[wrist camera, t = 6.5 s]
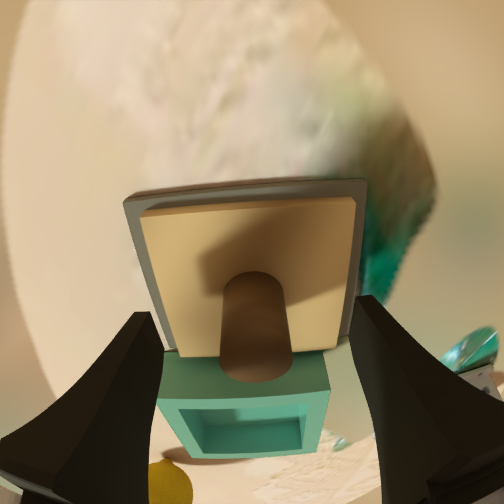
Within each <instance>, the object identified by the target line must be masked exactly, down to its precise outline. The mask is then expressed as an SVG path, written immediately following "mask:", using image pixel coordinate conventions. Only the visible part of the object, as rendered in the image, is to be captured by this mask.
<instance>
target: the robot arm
mask: <svg viewBox="0 0 504 504" xmlns="http://www.w3.org/2000/svg"><path fill="white" fill-rule="evenodd" d="M349 341H350V346H351V351H352V356H353V360H354V364H355V367H356V370H357V373H358V376H359V379H360V382H361V385H362V388H363V391H364V394H365V397H366V400H367V403H368V407H369V410H370V413H371V417H372V421H373V427H374V432H373V434H372V438H373V439H376V444H377V451H378V458H379V467H380V477H381V490H382V504H504V402H503V400H502V398H501V395H500V393H499V391H498V389H497V387H496V385H495V383H494V381H493V379H492V378H491V376H490V373H491V372H492V370H493V366H492V364H489V365H486V366H483V367H481V368H478V369H474V370H471V371H468V372H465V373H462V374H458V375H457V374H455V373H454V372H453V371H451V370H450V369H449V368H447V367H446V366H445V365H444V364H442V363H441V362H440V361H438V360H437V359H436V358H435V357H434V356H432V355H431V354H430V353H429V352H428V351H427V350H426V349H425V348H423V347H422V346H421V345H420V344H419V343H418V342H417V341H416V340H415V339H414V338H413V337H412V336H411V335H410V334H409V333H408V332H407V331H406V330H405V329H404V328H403V327H402V326H401V325H400V324H399V323H398V322H397V321H396V320H395V319H394V318H393V317H392V316H391V315H390V314H389V312H388V311H387V310H386V309H385V308H384V307H383V306H382V305H381V304H380V303H379V302H378V301H377V300H376V299H375V297H374V296H373V295H365V296H356V297H355V303H354V309H353V315H352V320H351V326H350V331H349ZM164 350H165V349H164V346H163V344H162V341H161V339H160V336H159V334H158V331H157V329H156V326H155V323H154V321H153V318H152V316H151V313H150V311H148V312H134V313H133V314H132V316H131V317H130V318H129V319H128V321H127V322H126V323H125V324H124V326H123V327H122V328H121V330H120V331H119V332H118V333H117V335H116V336H115V337H114V339H113V340H112V341H111V342H110V344H109V345H108V346H107V347H106V349H105V350H104V351H103V352H102V354H101V355H100V356H99V357H98V358H97V360H96V361H95V362H94V363H93V364H92V365H91V367H90V368H89V369H88V370H87V371H86V372H85V374H84V375H83V376H82V377H81V378H80V379H79V380H78V381H77V382H76V383H75V384H74V385H73V386H72V387H71V388H70V389H69V390H68V391H67V392H66V393H65V394H64V395H63V396H61V397H60V398H59V399H58V400H57V401H55V402H54V403H53V404H52V405H51V406H50V407H48V409H46V410H45V411H44V412H42V413H41V414H40V415H38V416H37V417H36V418H34V419H33V420H31V421H30V422H28V423H27V424H25V425H24V426H22V427H21V428H19V429H17V430H16V431H14V432H12V433H10V434H9V435H7V436H5V437H3V438H1V440H0V476H1V477H3V478H5V479H6V480H7V481H9V482H11V483H12V484H14V485H16V486H17V487H19V488H21V489H23V494H22V496H21V495H20V494H18V493H15V492H13V491H11V490H9V489H7V488H5V487H3V486H1V485H0V504H149V483H148V470H149V446H150V433H151V426H152V421H153V416H154V411H155V406H156V402H157V397H158V392H159V388H160V383H161V378H162V373H163V363H164Z"/></svg>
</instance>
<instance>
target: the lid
mask: <svg viewBox="0 0 504 504" xmlns="http://www.w3.org/2000/svg"><path fill="white" fill-rule="evenodd" d="M355 209H356V203H355V201H354V200H353V199H352V197H325V198H301V199H281V200H264V201H248V202H233V203H220V204H207V205H195V206H184V207H173V208H162V209H152V210H144V211H143V213H142V214H141V216H140V222H141V226H142V230H143V234H144V238H145V242H146V246H147V249H148V253H149V257H150V261H151V264H152V268H153V271H154V275H155V278H156V282H157V285H158V289H159V292H160V295H161V299H162V302H163V305H164V308H165V312H166V315H167V318H168V321H169V324H170V327H171V330H172V333H173V336H174V339H175V342H176V345H177V348H178V351H179V354H180V357H219V365H220V367H221V369H222V371H223V372H224V373H225V374H226V375H228V376H229V377H231V378H233V379H236V380H239V381H242V382H249V383H260V382H267V381H271V380H274V379H276V378H279V377H281V376H282V375H284V374H285V373H286V372H287V371H288V370H289V369H290V368H291V366H292V363H293V354H292V352H302V351H312V350H322V349H331V348H336V344H337V339H338V334H339V328H340V322H341V317H342V310H343V304H344V298H345V291H346V285H347V278H348V270H349V263H350V255H351V247H352V238H353V229H354V219H355Z"/></svg>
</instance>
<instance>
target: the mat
mask: <svg viewBox="0 0 504 504" xmlns="http://www.w3.org/2000/svg"><path fill="white" fill-rule="evenodd" d="M367 186H368V182H367V181H366V180H365V179H337V180H314V181H296V182H280V183H265V184H252V185H240V186H229V187H218V188H208V189H198V190H189V191H180V192H172V193H163V194H155V195H147V196H140V197H133V198H126V199H125V200H124V202H123V207H124V210H125V214H126V218H127V221H128V225H129V228H130V232H131V235H132V239H133V242H134V246H135V249H136V252H137V256H138V259H139V262H140V265H141V268H142V271H143V275H144V278H145V281H146V284H147V287H148V290H149V293H150V296H151V298H152V301H153V304H154V307H155V310H156V313H157V315H158V318H159V321H160V324H161V326H162V329H163V332H164V334H165V337H166V340H167V342H168V345H169V347H170V348H177V345H176V342H175V339H174V336H173V333H172V330H171V327H170V324H169V321H168V318H167V315H166V312H165V308H164V305H163V302H162V299H161V295H160V292H159V289H158V285H157V282H156V278H155V275H154V271H153V268H152V264H151V261H150V257H149V253H148V249H147V246H146V242H145V238H144V234H143V230H142V226H141V222H140V216H141V214H142V213H143V211H144V210H152V209H162V208H173V207H184V206H195V205H207V204H220V203H233V202H248V201H264V200H281V199H301V198H325V197H352V199H353V200H354V201H355V203H356V209H355V219H354V229H353V238H352V247H351V255H350V263H349V270H348V278H347V285H346V291H345V298H344V304H343V310H342V317H341V322H340V328H339V334H338V337H340V336H348V333H349V328H350V322H351V316H352V310H353V304H354V298H355V292H356V285H357V278H358V271H359V264H360V256H361V248H362V240H363V231H364V221H365V211H366V199H367Z"/></svg>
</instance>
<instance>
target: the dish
mask: <svg viewBox="0 0 504 504" xmlns="http://www.w3.org/2000/svg"><path fill="white" fill-rule="evenodd" d="M292 354H293V363H292V366H291V368H290V369H289V370H288V371H287V372H286V373H285V374H284V375H282V376H281V377H279V378H276V379H274V380H271V381H267V382H260V383H249V382H242V381H239V380H236V379H233V378H231V377H229V376H228V375H226V374H225V373H224V372H223V371H222V369H221V367H220V365H219V357H180V354H179V352H164V363H163V373H162V378H161V383H160V388H159V392H158V397H157V402H156V404H157V406H158V407H159V409H160V411H161V412H162V414H163V416H164V417H165V419H166V420H167V422H168V423H169V425H170V427H171V428H172V430H173V431H174V433H175V434H176V436H177V437H178V439H179V440H180V442H181V443H182V445H183V446H184V447H185V449H186V450H187V452H188V453H189V455H190V456H191V457H192V458H211V459H230V458H260V457H275V456H287V455H297V454H306V453H315V452H316V451H317V447H318V443H319V439H320V435H321V431H322V427H323V423H324V418H325V414H326V409H327V405H328V401H329V396H330V391H331V389H330V384H329V379H328V375H327V370H326V366H325V361H324V356H323V352H322V350H312V351H302V352H292Z"/></svg>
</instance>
